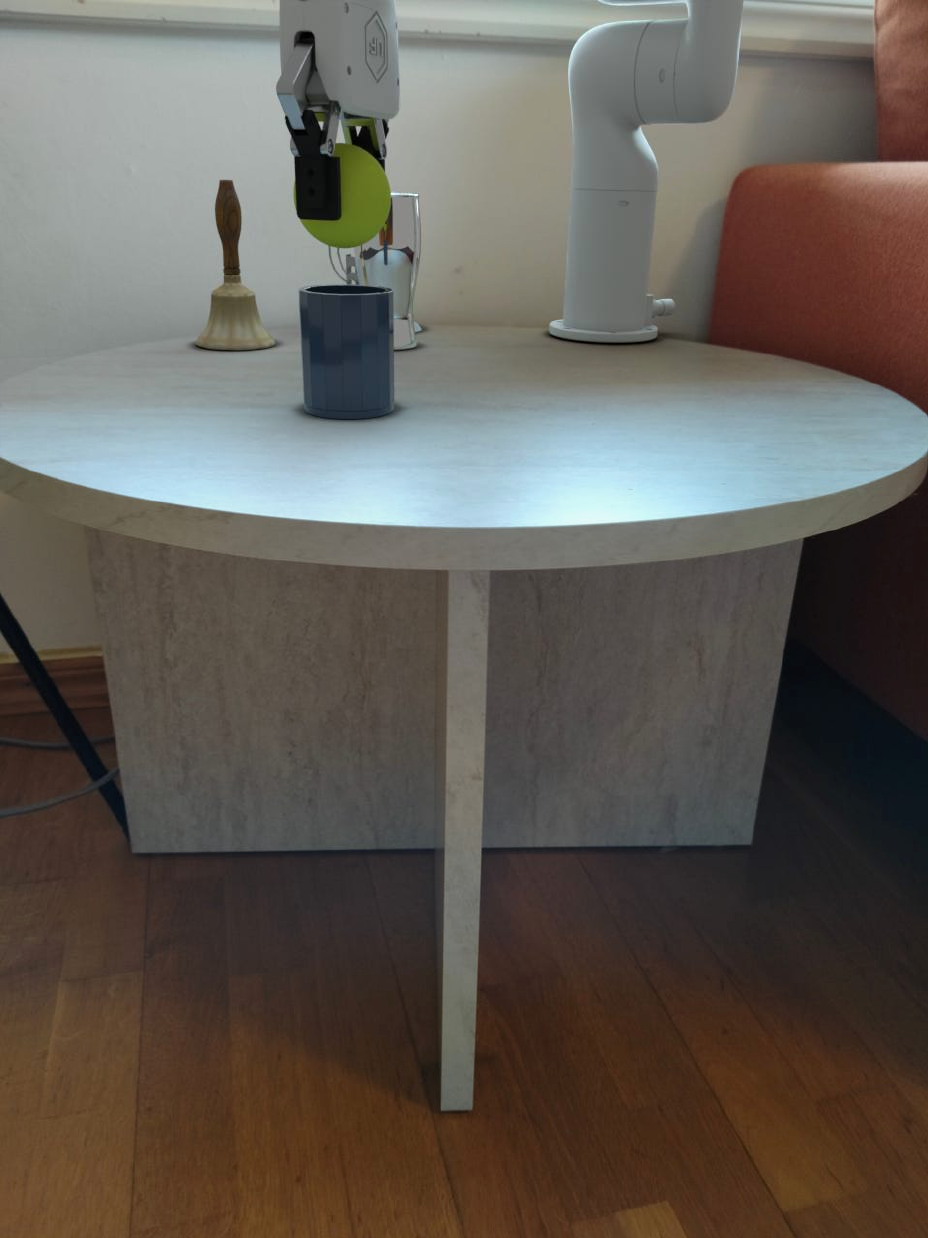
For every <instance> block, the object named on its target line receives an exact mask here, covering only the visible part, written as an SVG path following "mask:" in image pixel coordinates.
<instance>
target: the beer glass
mask: <svg viewBox="0 0 928 1238" xmlns="http://www.w3.org/2000/svg"><path fill="white" fill-rule="evenodd" d="M420 209H421V208H420V194H419V193H404V192H397V193H391V206H390V211H389V214H388V218H387V220H386V222H385V224H384V226H383V227H382V229H381V230H380V231H379V233H378V234H377V235H376V236H375V237H374V238H373V239H371V240H370V241H368V242H367V243H365V244H363V245H360V246H357V247H353V255H354V257H355V262H356V268H357V274H358V279H359V285H371V286H381V287H386V288H390V289H392V290H393V304H394V351H401V350H403V351H404V350H410V349H414V348H416V347H417V345H418V340H417V335H416V332H415V328H414V322H415V321H414V302H415V294H416V286H417V283H418V282H417V281H418V277H419V276H418V275H419V268H420V262H421V261H420V260H421V253H422V226H421V225H422V222H421V210H420Z"/></svg>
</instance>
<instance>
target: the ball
mask: <svg viewBox="0 0 928 1238" xmlns="http://www.w3.org/2000/svg"><path fill="white" fill-rule="evenodd" d="M329 157H340V175H341V218H340V219H339V220H337V221H327V220H303V219H299V221H300V223H301V224H302V226H303V227H304V229H305V230H306V231H307V232H308V233H309V234H310V235H311V237H313V238H314V239H316V240H317V241H318V242H319V243H322V244H323V245H326V246H328V245H329V246H330V247H331V248H336V249H337V248H339V249H352V248H353V249H354V247H357V246H360V245H363V244H365V243H367V242H368V241H370V240H371V239H373V238H374V237H375V236H376V235H377V234H378V233H379V231H380V230H381V229H382V227H383V226H384V224H385V222H386V220H387V218H388V214H389V211H390V206H391V191H392V190H391V187H390V182H389V179H388V176H387V174H386V171H385V172H384V170H383V168H382V167H381V165H380V164H379V163H378V161H377V160H376V159H375V158H374V157H373V156H372V155H371V154H369V153H368V152H367V151H365V150H363V149H362V148H360V147H357V146H355V145H351V144H347V143H345V142H336V144H335V150H334V154H333V156H329ZM293 183H294V184H293V194H292V195H293V203H294V208H295V209H296V188H295V181H294V182H293ZM390 190H391V191H390Z"/></svg>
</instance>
